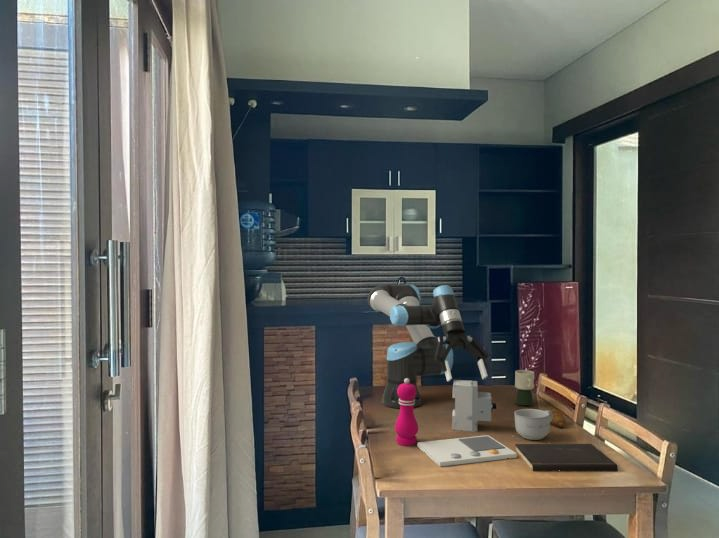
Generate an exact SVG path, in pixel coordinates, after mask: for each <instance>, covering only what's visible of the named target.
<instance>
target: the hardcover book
mask: <svg viewBox="0 0 719 538" xmlns="http://www.w3.org/2000/svg"><path fill="white" fill-rule="evenodd" d="M514 446H515V452H516V453H518V454H519V456H520V455H521V456H520V457H521V458H522V459H523V461H524V462H525V461H526V462H525V463H526V465H528V467H529V468H530V469H531V471H532V472H618V469H619V468H618V467H619V466H618V465H617V463H616V462H614V461H613V460H612V459H611V458H610V457H608V455H606V454H604V453H603V452H602V451H601V450H599V449H598V448H597V447H596V446H594V445H593V443H514ZM559 470H560V471H559Z"/></svg>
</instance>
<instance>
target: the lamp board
mask: <svg viewBox="0 0 719 538" xmlns="http://www.w3.org/2000/svg"><path fill="white" fill-rule="evenodd" d="M416 444H417V447H418V448H419V449H420V450H421V451H422V452H423V453H424V452H425V453H426V454H425V453H424V454H425V455H426V456H428V458H430V459H431V460H432V461H433V462H434V463H435V464H436V465H438V466H439V467H440V468H441V467H448V466H455V465H464V464H473V463H474V464H475V463H482V462H488V461H489V462H490V461H499V460H500V461H501V460H507V458H509V459H516V458H518V456H517V455H518V454H517V453H518V452H516V451H513V450H512V449H511V448H510V447H507V446H506V445H504V444H502V443H501V442H499V441H498V440H496V439H495V438H493V437H492V436H490V435H489V434H488V435H475V436H466V437H457V438H448V439H438V440H437V439H436V440H427V441H420V442H419V441H418V442H417V443H416Z"/></svg>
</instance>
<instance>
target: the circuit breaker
mask: <svg viewBox="0 0 719 538" xmlns="http://www.w3.org/2000/svg"><path fill="white" fill-rule="evenodd" d="M478 387H479V386H478V381H477V380H463V379H462V380H461V379H453V384H452V395H451V396H452V397H451V398H452V399H454V409H452V415H451V416H452V417H451V430H452V431H460V430H463V431H464V432H474V431H477V432H478V421H481V422H492V413H493V410H497V403H495V402H493V400H492V393H491V392H485V391H478V389H479V388H478ZM453 429H455V430H453ZM463 431H462V432H463Z"/></svg>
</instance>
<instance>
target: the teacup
mask: <svg viewBox="0 0 719 538" xmlns="http://www.w3.org/2000/svg"><path fill="white" fill-rule="evenodd" d="M513 414H514V427H515V432H517V434H519V436H521V438H523V439H525V438H526V440H531V441H538V440H543V439H544V438H545V437H546V436H548V435H549V432H550V422H551V421H552V418H553V415H552V412H551V411H550V410H542V409H538V408H537V409H534V408H522V409H517V410H515V411H514V413H513Z"/></svg>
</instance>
